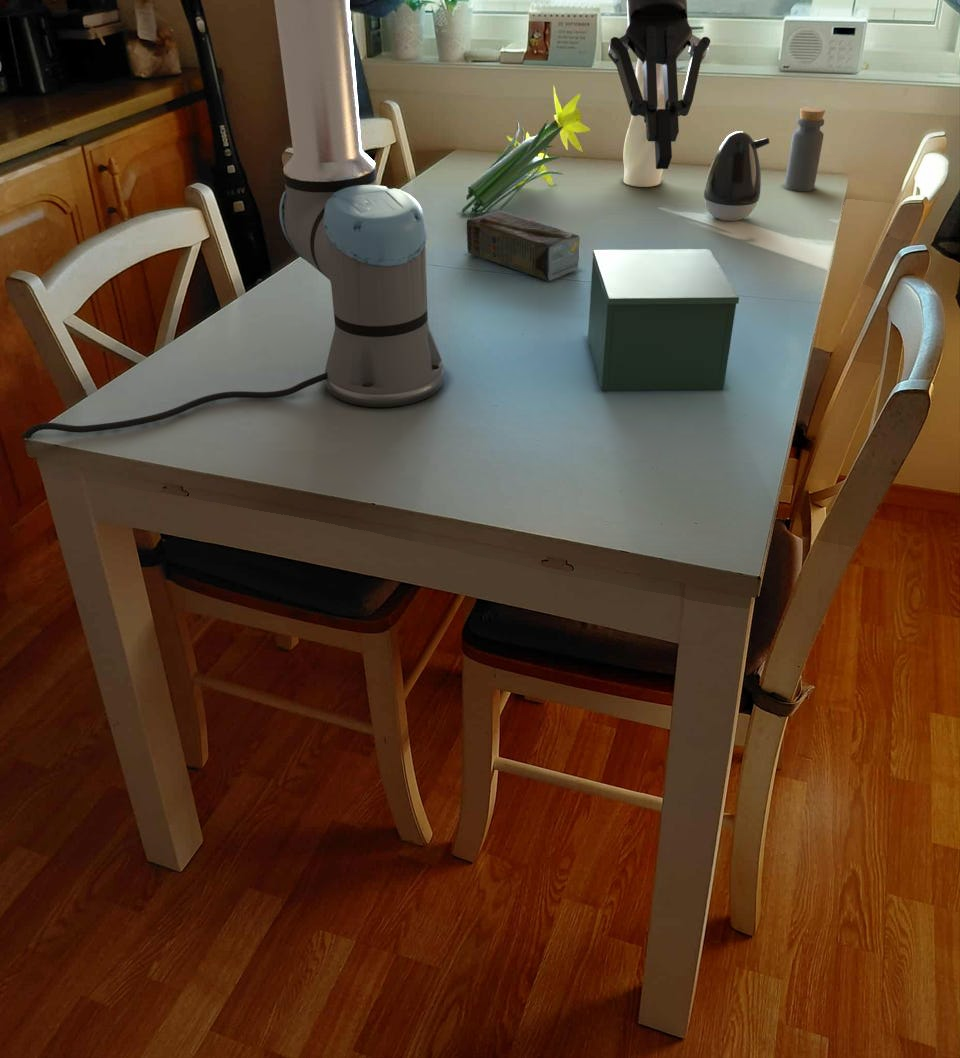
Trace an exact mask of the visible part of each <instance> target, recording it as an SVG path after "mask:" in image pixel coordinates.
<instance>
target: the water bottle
mask: <svg viewBox="0 0 960 1058" xmlns="http://www.w3.org/2000/svg"><path fill="white" fill-rule="evenodd" d="M676 65H677V66H678V58H677V59H676ZM635 75H636V78H637V82H638V85H639V88H640V91H641V94H642V98H643V100H644V82H643V73H642V61H641V60H640V59H639V58H638V57H637V60H636V66H635ZM656 76H657V100H658V106H657V110H658V109H665V101H664V80H663V73H662V64H656ZM677 85H678V83H677ZM630 117H631V118H630V121H629V125H628V128H627V131H626V134H625V139H624V143H623V144H624V145H623V152H622V160H623V167H624V168H623V169H624V176H623V183H624V184H625V185H628V186H630V187H640V188H648V187H655V186H659V185H660V184H661V182H662V176H663V172H664V169H656V159H655V141H649V142H648V140H647V138H646V123H645V122H644V117H643V116H641V115H638V116H633V115H632V114H631V116H630Z"/></svg>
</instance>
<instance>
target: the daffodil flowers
mask: <svg viewBox="0 0 960 1058" xmlns="http://www.w3.org/2000/svg"><path fill="white" fill-rule="evenodd" d="M552 88H553V101H554V108H555V114H554V115H553V118H554V120H553V121H552V122H551V123H550V124H548V119H547V120H546V121H545V122H544V124H543V125H542V127H541V128H540V130H539V132H538V133H537V134H536V135H535V136H530V133H529V132H528V131H527V132H526V133H525V131H524V127H522V128H521V129H522V130H521V132H522V133H521V142H519V140H518V138H519V135H520V123H519V120H518V119H517V120H516V126H517V127H516V133H515V135H514V137H511V136H509V135H506V139H507V141H509V142H510V143H509V144H508V145H507V146H506V148H504V150H503V151H502V153H501V154H500V155H499V156H498V158H497V159H496V160H495V161H494V162H493V163H492V164H491V165H490V166H489V168H488V169H487V170H485V172H484V173H482V174H481V175H480V176H479V177H477V179H475V180H474V181H473V182H471V184H469V185H468V186H467V187H468V189H467V192H468V194H467V195H466V199H465V200H466V201H468V200H470V199H471V198H472V197H473V198H472V199H471V200H470V201H469V202H468V203H467V204H466V205H465V206H464V207H462V209H461V214H464V213H465V212H466V211H468V210H469V208H470V207H471V206H472V205H473V206H472V207H471V212H470V213H472V214H478V213H479V216H480V215H482V214H487V212H489V211H490V210H491V209H492V208H493V207H495V206H496V205H498V203H499V202H501V201H502V200H504V199H505V198H507V197H508V196H509V195H511V196H510V197H508V199H507V200H506V201H505V202H504V203H503V204H502V205H501V206H500V207H499V208H498V209H497V210H500V211H502V210H503V208H505V207H506V205H508V204H509V203H510V202H511V201H512V199H513V198H514V197H515V196H516V195H517V194H518V193H519V192H520V191H521V189H522V188H523V187H524V186H525V185H527V184H528V183H530V182H532V181H534V180H536V179H538V178H540V177H541V178H542V179H543V180H545V182H547V183H548V184H549V185H551V186H554V183H553V179H552V175H563V173H562V172H559V171H556V170H548V169H547V167H546V166H545V165H544V164H546V163H549V162H552V161H554V160H557V159H560V158H561V156H548V155H547V153H548V152H547V151H548V150H547V149H550V148H554V147H555V145H550V144H551V143H552V142H553V140H554V139H555V138H556V137H557V136H558V135H559V137H560V141H561V143H562V144H563V146H564V148H565V149H566V150H567V151H568V150H569V142H570V144H571V145H572V146H573V147H574V148H575V149H577V150H578V151H579V152H581V153H584V151H583V148H582V145H581V144H580V141H579V139H578V138H577V136H576V133H577V134H579V133H580V134H581V133H587V132H590V131H591V128H590V127H588V126H586V124H585V125H584V124H583V123H581V122H582V120H583V115H582V113H581V110H579V108H578V107H577V104H578V102H579V100H580V97H581V93H580V92H579V93H578V94H576V95H575V96H574V97H573V98H572V99H571V100H569V101H568V103H566V105H564V107H563V108H562V106H561V103H560V101H559V98H558V95H557V92H556V87H555V85H554V84H552ZM547 124H548V125H547ZM568 141H569V142H568ZM513 147H514V148H513ZM512 148H513V150H511V149H512ZM510 150H511V151H510ZM533 171H534V172H533ZM512 193H513V194H512Z"/></svg>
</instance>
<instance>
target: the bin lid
mask: <svg viewBox="0 0 960 1058" xmlns="http://www.w3.org/2000/svg"><path fill="white" fill-rule="evenodd" d="M593 257H594V260H595V263H596V267H597V270H598V273H599V276H600V279H601V282H602V285H603V289H604V292H605V295H606V298H607V301H608V304H609V305H640V304H736V305H737V304H738V305H739V301H740V296H739V294H738V293H737V292H736V289H735V288H734V287H733V285H732V284H731V281H730V280H729V278H728V277H727V275H726V274H725V272H724V271H723V269H722V267H721V266H720V264H719V262H718V261H717V259H716V258H715V256H714V254H713V252H712V251H711V250H710V248H686V249H685V248H675V249H674V248H671V249H670V248H669V249H667V248H666V249H665V248H664V249H593V250H592V258H593Z"/></svg>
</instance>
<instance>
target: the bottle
mask: <svg viewBox="0 0 960 1058" xmlns="http://www.w3.org/2000/svg"><path fill="white" fill-rule="evenodd" d="M799 110H800V111H799V115H800V117H798V118H797V120H796V124H797V125H798V126H799V127H798V128H797V129H796V130H794V131H793V133H792V138H791V144H790V150H789V157H788V163H787V167H786V175H785V181H784V188H785V189H787V190H791V191H794V192H809V191H813V190H814V189H815V185H816V179H817V174H818V169H819V164H820V159H821V152H822V147H823V141H824V136H825V134H824V132H823V131H822V130H821V127H823V126H824V125H825V119H824V115H825V112H826V110H825V109H824V108H822V107H815V106H805V107H801V108H800V109H799Z"/></svg>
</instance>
